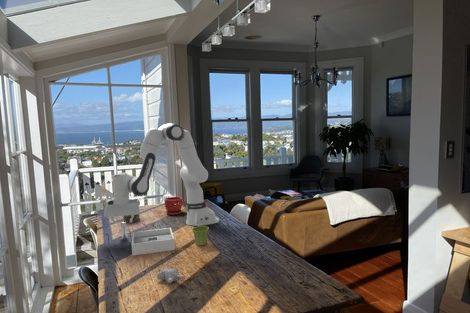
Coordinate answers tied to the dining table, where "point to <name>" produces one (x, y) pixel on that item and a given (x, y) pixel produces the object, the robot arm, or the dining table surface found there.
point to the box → (152, 241)
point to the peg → (124, 230)
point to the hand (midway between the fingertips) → (122, 222)
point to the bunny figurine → (169, 275)
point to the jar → (128, 217)
